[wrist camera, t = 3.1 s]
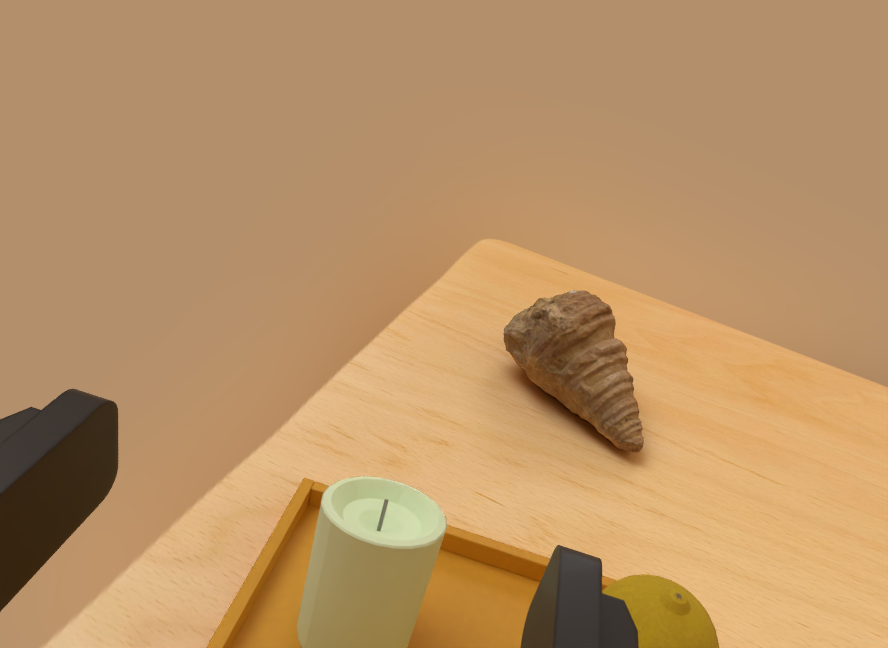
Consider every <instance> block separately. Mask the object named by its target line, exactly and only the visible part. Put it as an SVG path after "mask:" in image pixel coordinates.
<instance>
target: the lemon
mask: <svg viewBox="0 0 888 648" xmlns="http://www.w3.org/2000/svg"><path fill="white" fill-rule="evenodd" d="M602 593H603V594H606V595H609V596H612V597H615V598H618V599H621V600H624V601H625V603H626V605H627V608H628V610H629V612H630V614H631V617H632V619H633V621H634V623H635V626H636V628H637V630H638V646H639V648H719V644H718V639H717V635H716V630H715V627H714V625H713V623H712V621H711V619H710V617H709V615H708V613H707V611H706V610H705V609H704V607H703V606H702V604H701V603H700V602H699V601H698V600H697V599H696V598H695V597H694V596H693V595H692V594H691V593H690V592H689V591H688V590H686V589H685V588H684V587H682V586H681V585H679V584H677V583H675V582H673V581H671V580H668V579H665V578H662V577H659V576H653V575H633V576H628V577H625V578H623V579H620V580H618V581H616V582H614V583H612V584H610V585H609V586H607V587H606V588H605V589H604V590H603V591H602Z"/></svg>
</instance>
